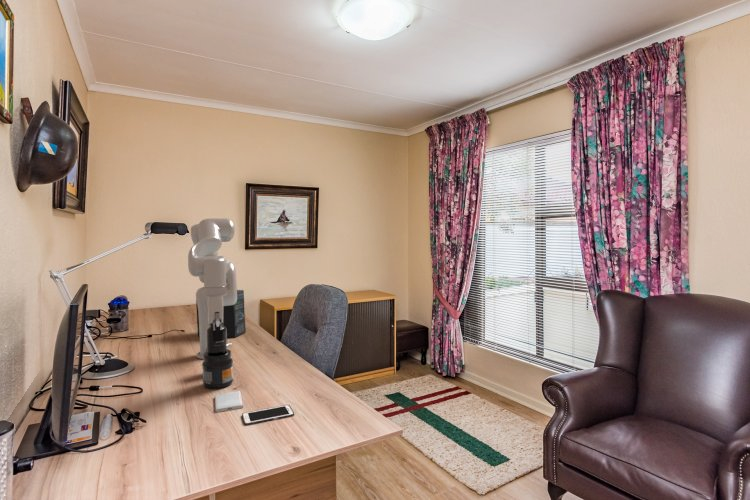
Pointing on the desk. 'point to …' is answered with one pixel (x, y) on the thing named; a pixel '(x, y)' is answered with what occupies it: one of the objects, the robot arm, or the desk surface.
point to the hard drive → (228, 401)
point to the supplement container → (217, 370)
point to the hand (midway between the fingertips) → (216, 337)
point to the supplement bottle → (216, 346)
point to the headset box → (232, 316)
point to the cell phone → (267, 414)
